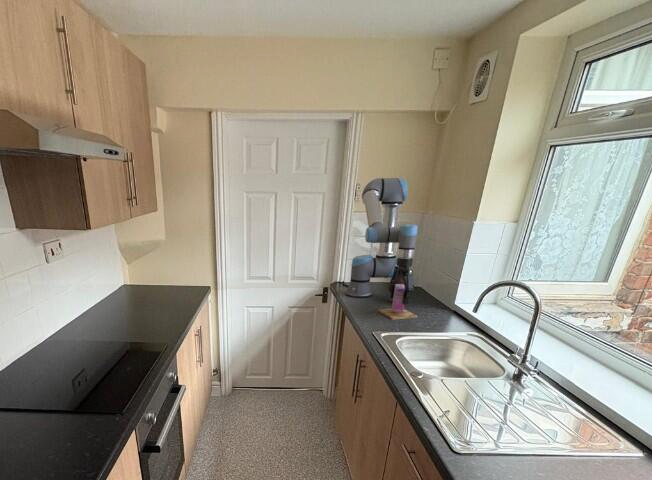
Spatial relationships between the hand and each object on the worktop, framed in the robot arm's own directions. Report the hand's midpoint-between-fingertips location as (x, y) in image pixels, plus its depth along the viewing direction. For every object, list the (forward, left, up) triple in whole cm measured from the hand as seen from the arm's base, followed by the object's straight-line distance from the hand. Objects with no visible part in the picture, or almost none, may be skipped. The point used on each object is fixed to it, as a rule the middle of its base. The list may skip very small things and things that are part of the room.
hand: (399, 300), depth 215 cm
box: (0, 0, -4) cm, 4 cm away
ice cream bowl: (-21, +11, -7) cm, 25 cm away
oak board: (0, 0, -7) cm, 7 cm away
